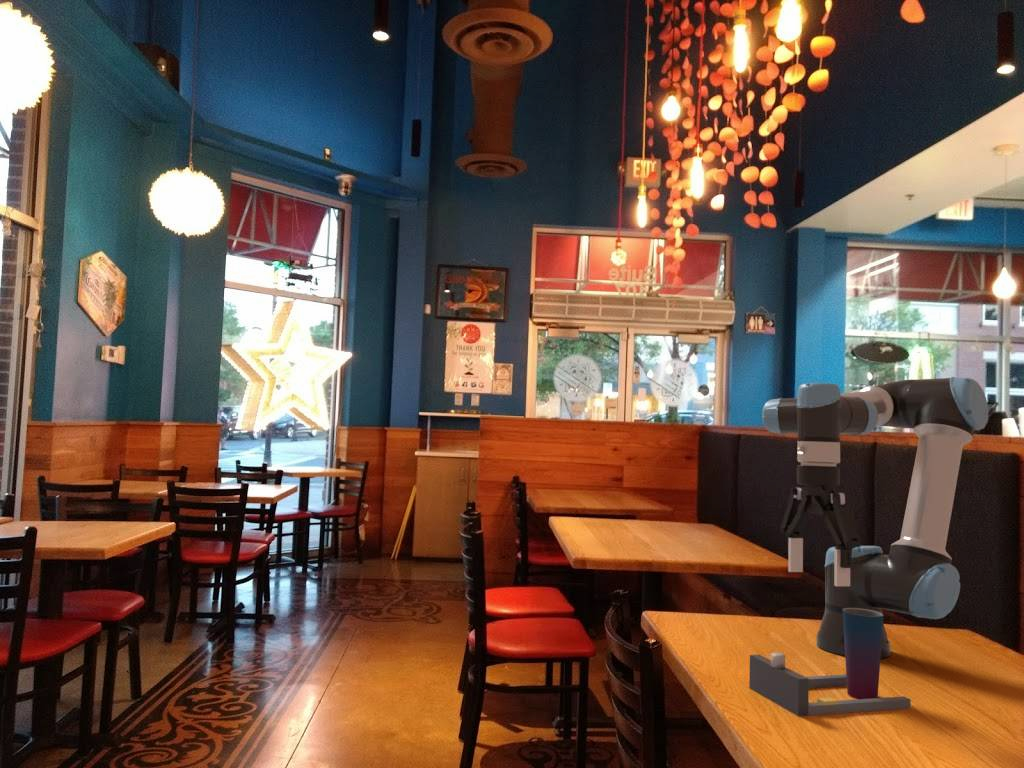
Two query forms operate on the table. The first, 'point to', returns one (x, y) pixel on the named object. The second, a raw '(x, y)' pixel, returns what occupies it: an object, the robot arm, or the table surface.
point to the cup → (862, 651)
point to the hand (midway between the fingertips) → (817, 578)
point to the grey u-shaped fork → (794, 690)
